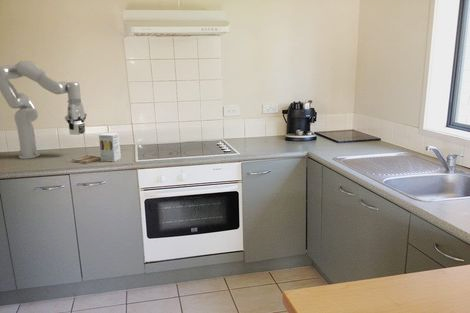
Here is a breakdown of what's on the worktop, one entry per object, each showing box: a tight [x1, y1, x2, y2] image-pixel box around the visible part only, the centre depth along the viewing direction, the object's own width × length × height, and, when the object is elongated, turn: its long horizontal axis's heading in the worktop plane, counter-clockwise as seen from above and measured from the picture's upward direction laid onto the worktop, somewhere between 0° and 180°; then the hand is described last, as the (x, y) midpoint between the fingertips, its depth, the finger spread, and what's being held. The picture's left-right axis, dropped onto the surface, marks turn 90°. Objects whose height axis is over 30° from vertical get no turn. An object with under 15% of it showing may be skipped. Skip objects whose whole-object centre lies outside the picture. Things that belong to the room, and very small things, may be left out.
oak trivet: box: [71, 155, 101, 164], centre depth 260 cm, size 12×12×2 cm
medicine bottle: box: [68, 117, 86, 136], centre depth 269 cm, size 7×7×12 cm
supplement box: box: [98, 132, 122, 163], centre depth 259 cm, size 10×9×17 cm
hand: (77, 128), depth 269 cm, fingers closed on medicine bottle, 8 cm apart
